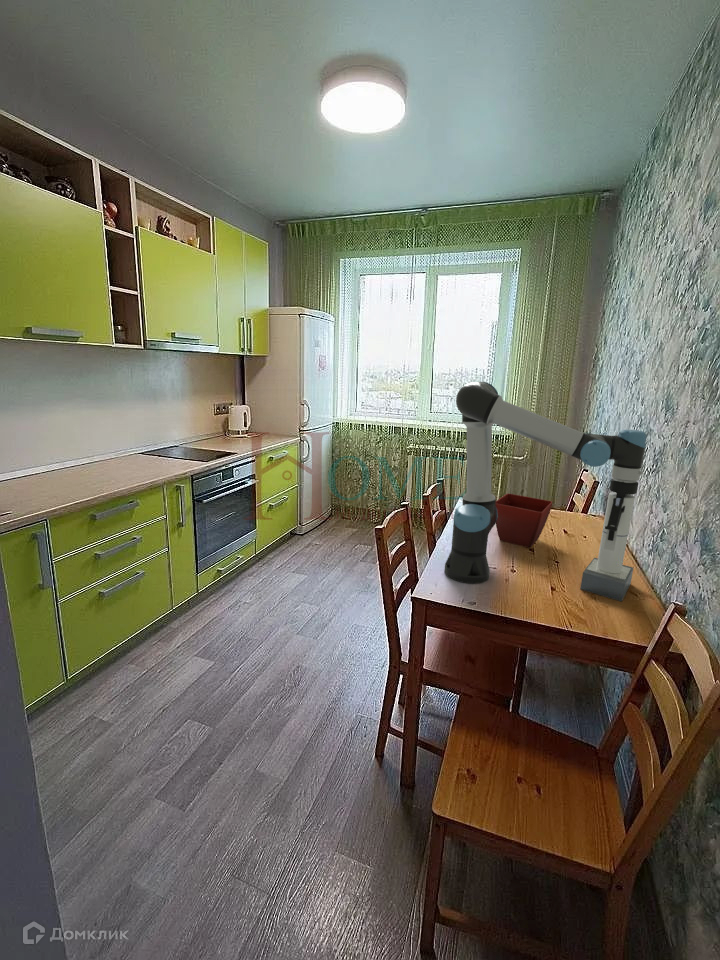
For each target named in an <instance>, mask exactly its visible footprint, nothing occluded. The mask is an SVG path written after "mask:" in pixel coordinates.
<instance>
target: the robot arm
mask: <svg viewBox="0 0 720 960" xmlns="http://www.w3.org/2000/svg"><path fill="white" fill-rule="evenodd" d="M455 404H456V407H457V409H458V410H457V411H459V413H461V420H462V421H461V422H462V423H463V425H464V426H465V427H466V492H465V494H464V495H463V496H462V505H459V506H458V507H456V509H455V510H454V514H453V524H452V525H453V526H452V535H451V536H452V537H451V550H450V553H449V555H448V556H447V559H446V561H445V564H444V569H443V570H444V571H443V572H444V574H445V576H447V577H448V578H450V579H451V580H454V581H457V582H461V583H466V584H480V583H485V582H487V581H488V580H489V579H490V566H489V561H488V557H487V549H488V540H489V535H490V533H491V532H492V529H493V528H494V526H496V521H497V517H498V513H497V508H496V501H497V499H496V496H495V495H494V494H493V493H492V473H493V472H492V469H493V467H492V465H493V464H492V461H493V459H492V458H493V454H492V453H493V449H492V447H493V446H492V445H493V441H492V440H493V438H492V437H493V425H496V426H499V427H501V428H504V429H506V430H507V431H508V430H509V431H511V432H513V433H516V434H518V435H521V436H524V437H525V438H527V439H530V440H533V441H535V442H538V443H539V444H542V445H544V446H547V447H549V448H551V449H555V450H557V451H559V452H561V453H563V454H566V455H568V456H571V457H573V458H575V459H577V460H579V461H581V462H583V463H584V464H586V465H587V466H589V467H592V468H593V467H595V468H596V467H597V468H598V467H601V466H603V465H605V464H606V463H607V462H608V461H609V460H611V461H612V460H613V465H612V470H611V479H610V482H609V483H610V484H609V487H608V490H610V492H616V493H617V495H616V498H614V499H613V505H612V509H611V513H610V517H609V521H608V525H607V526H605V529H607V535H606V541H605V547H604V549H608V550H612V551H614V549H615V544H616V538H617V532H618V529H617V528H618V525H619V521H620V518H621V514H622V513H623V512H624V510H625V506H623V508H622V505H623V502H624V498H625V497H626V496H627V495H633V496H634V495H635V494H637V493H638V488H639V482H638V481H639V480H640V477H641V475H643V473H644V472H643V471H641V470H642V465H643V461H644V456H645V451H646V445H647V437H648V435H647V434H646V432H645V431H644V430H643V431H642V430H637V429H620V430H619V432H618V434H617V435H608V434H597V433H588V432H587V433H586V432H582V431H580V430H579V429H578V430H577V429H575V428H572V427H569V426H568V425H565V424H562V423H560V422H558V421H555V420H553V419H550V418H548V417H546V416H543V415H540V414H538V413H536V412H533V411H530V410H527V409H525V408H523V407H521V406H518V405H515V404H513V403H511V402H508V401H505V400H504V399H503V397H502V395H499V393H498V390H497V388H496V387H495V386H494V385H493V384H491V383H488V382H487V381H473V382H469V383H466V384H464V385H463V386H462V387H461V388H460V389H459V390H458V392H457V394H456V398H455ZM616 505H617V506H616ZM611 525H613V526H611ZM614 526H615V527H614Z"/></svg>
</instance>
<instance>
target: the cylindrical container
mask: <svg viewBox="0 0 720 960" xmlns="http://www.w3.org/2000/svg"><path fill="white" fill-rule="evenodd" d="M616 495H617V493H616V492H612V491H610V492H609V493H608V497H607V504H606V508H605V514H604V520H603V521H604V522H603V527H602V531H601V537H600V543H599V550H598V556H597V558H598V561H597V568H598V569H600V570H602V571H605V572H608V573H620V572H621V570H622V565H624V564H623V563H624V558H625V552H626V549H627V548H626V547H627V544H628V543H627V542H628V536H629V531H630V526H631V525H630V524H631V520H632V516H633V514H632V513H633V509H634V503H635V498H636V497H635V495H634V494H633V495H627V496H626V497H625V498H624V502H623V505H622V508H623V506H625V510H624V512H623V513H622V514H621V518H620V521H619V525H618V528H617V529H618V532H617V538H616V544H615V549H614V551H612V550H608V549H604V547H605V541H606V535H607V529H605V526H607V525H608V521H609V517H610V513H611V509H612V505H613V499H614V498H616ZM616 506H617V505H616ZM611 526H613V525H611ZM614 527H615V526H614Z"/></svg>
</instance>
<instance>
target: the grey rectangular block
mask: <svg viewBox="0 0 720 960" xmlns="http://www.w3.org/2000/svg"><path fill="white" fill-rule="evenodd" d="M597 561H598V557H593V559H592V560H591V561H590V562H589V564H588V565H587V566H586V568H585V569H584V571H583V572H582V576H581V582H580V587H579V588H580V590H581V591H585V592H589V593H590V594H591V593H592V594H595V595H599V596H601V597H605V598H609V599H612V600H615V601H619V602H620V603H621V602H622V603H623V600H624V598H625V596H626V594H627V593H628V590H629V588H630V586H631V583H632V579H633V573H634V566H629V565H624V564H623V565H622V570H621V572H620V573H608V572H605V571H602V570H600V569H598V568H597Z"/></svg>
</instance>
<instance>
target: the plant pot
mask: <svg viewBox="0 0 720 960" xmlns="http://www.w3.org/2000/svg"><path fill="white" fill-rule="evenodd" d="M552 506H553V501H551V500H547V499H542V498H535V497H530V496H525V495H519V494H513V493H506V494H504V495H502V496H501V497H500V498H498V499H496V508H497V513H498V517H497V521H496V523H495V527H496V531H497V536H498V539H499V541H501V542H502V543H503V542H504V543H508V544H512V545H516V546H519V547H520V546H521V547H524V548H532V547H533V545H535V543H536V542H537V541H538V540H539V539H540V538H539V537H540V536H541V534H542V532H543V530H544V527H545V526H546V524H547V520H548V517H549V515H550V513H551V509H552Z"/></svg>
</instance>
